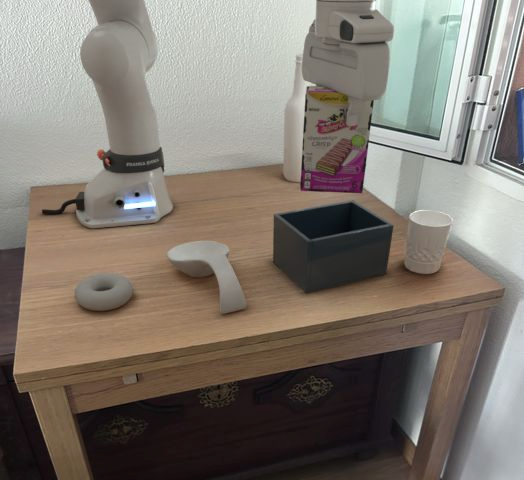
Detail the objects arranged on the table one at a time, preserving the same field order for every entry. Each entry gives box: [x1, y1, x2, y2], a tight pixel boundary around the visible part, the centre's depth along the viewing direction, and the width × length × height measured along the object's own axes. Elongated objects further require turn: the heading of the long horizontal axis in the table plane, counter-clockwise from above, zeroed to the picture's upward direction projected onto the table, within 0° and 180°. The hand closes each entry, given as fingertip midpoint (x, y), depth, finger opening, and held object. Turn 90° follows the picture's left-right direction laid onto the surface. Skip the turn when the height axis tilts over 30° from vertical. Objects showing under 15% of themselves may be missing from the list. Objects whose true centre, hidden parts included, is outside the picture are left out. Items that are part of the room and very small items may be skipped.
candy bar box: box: [299, 85, 375, 194], centre depth 92 cm, size 11×5×16 cm, turn 85°
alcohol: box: [282, 53, 313, 183], centre depth 140 cm, size 9×9×30 cm
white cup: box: [403, 209, 454, 275], centre depth 103 cm, size 8×8×10 cm
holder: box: [272, 200, 395, 294], centre depth 103 cm, size 18×14×10 cm
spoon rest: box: [166, 240, 247, 315], centre depth 99 cm, size 24×12×7 cm, turn 26°
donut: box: [74, 272, 134, 312], centre depth 95 cm, size 10×4×10 cm
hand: (337, 119), depth 90 cm, fingers closed on candy bar box, 6 cm apart
